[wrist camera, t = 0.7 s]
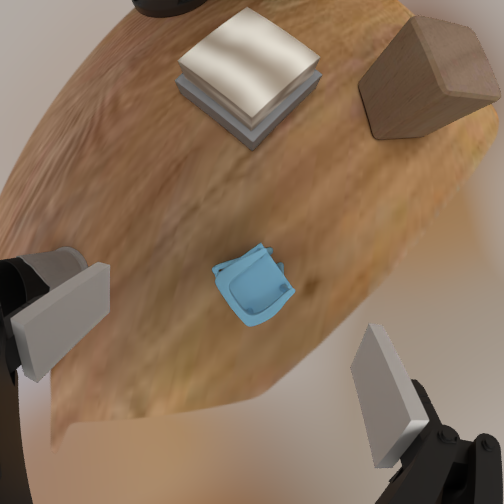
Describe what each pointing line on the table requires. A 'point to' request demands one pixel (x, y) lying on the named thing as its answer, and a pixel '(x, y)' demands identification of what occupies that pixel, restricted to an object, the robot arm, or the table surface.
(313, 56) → the tower top
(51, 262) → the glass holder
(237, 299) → the chair
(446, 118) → the block
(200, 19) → the table surface
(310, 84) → the tower base
